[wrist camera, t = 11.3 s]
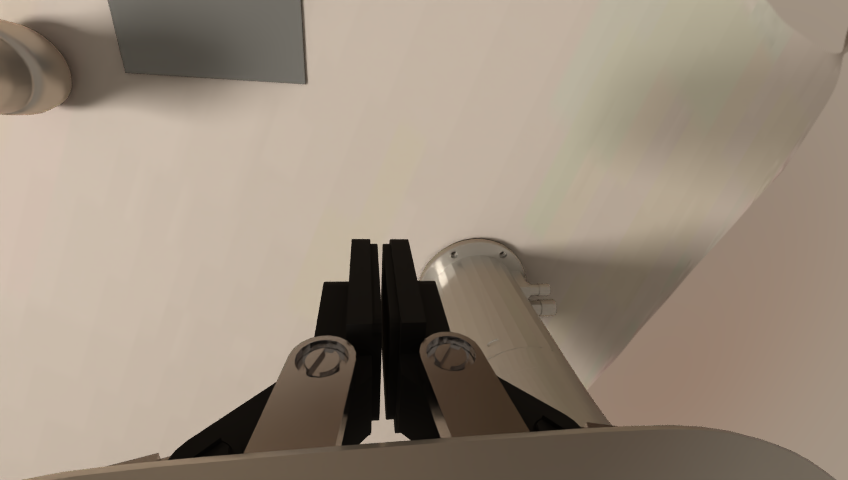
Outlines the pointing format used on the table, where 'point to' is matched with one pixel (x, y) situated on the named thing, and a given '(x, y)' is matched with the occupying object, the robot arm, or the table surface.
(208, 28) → the mat
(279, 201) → the table surface
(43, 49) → the plastic bottle
